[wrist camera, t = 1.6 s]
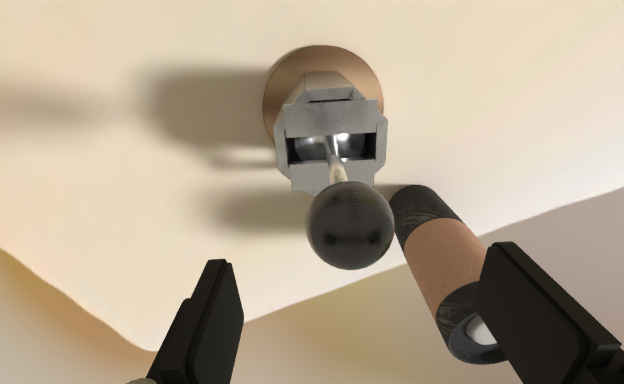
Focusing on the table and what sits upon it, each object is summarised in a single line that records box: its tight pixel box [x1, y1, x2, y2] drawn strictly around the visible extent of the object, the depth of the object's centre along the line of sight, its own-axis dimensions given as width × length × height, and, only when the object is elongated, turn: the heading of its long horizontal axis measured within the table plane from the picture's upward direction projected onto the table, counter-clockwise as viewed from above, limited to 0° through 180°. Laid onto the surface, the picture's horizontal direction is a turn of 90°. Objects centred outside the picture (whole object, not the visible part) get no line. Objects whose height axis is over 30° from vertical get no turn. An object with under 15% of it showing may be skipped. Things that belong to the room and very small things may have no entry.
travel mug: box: [389, 185, 508, 365], centre depth 32 cm, size 8×8×20 cm
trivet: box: [263, 46, 384, 144], centre depth 34 cm, size 14×14×1 cm
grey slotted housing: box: [273, 71, 388, 196], centre depth 29 cm, size 12×9×13 cm
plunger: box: [294, 133, 395, 270], centre depth 18 cm, size 6×6×15 cm
